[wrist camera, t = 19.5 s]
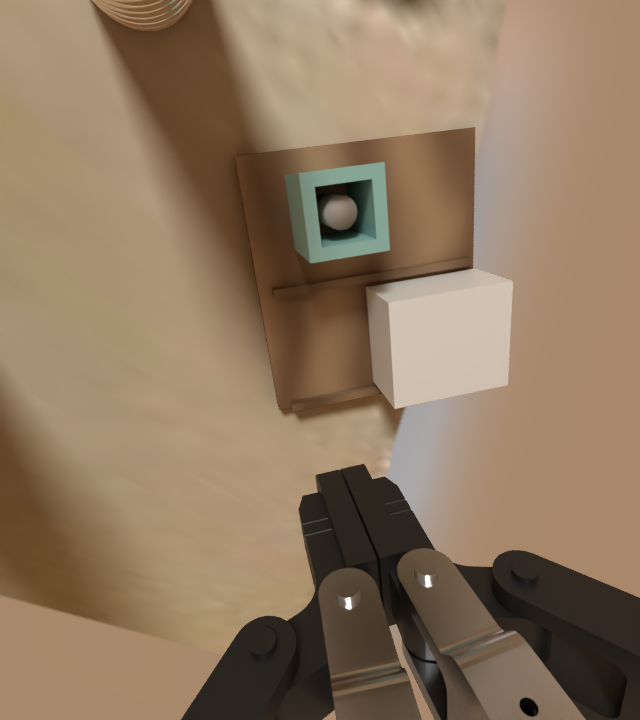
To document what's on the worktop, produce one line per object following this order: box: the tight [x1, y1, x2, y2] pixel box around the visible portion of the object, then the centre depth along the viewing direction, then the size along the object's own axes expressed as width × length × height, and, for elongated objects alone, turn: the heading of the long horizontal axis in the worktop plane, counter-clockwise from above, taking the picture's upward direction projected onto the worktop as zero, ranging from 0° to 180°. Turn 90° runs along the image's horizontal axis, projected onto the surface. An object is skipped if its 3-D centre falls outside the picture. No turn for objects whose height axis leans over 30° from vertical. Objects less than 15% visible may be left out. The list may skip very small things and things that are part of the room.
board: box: [235, 127, 475, 412], centre depth 32 cm, size 17×19×6 cm
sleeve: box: [284, 162, 390, 263], centre depth 29 cm, size 5×5×6 cm
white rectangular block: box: [366, 268, 513, 409], centre depth 34 cm, size 9×8×5 cm
